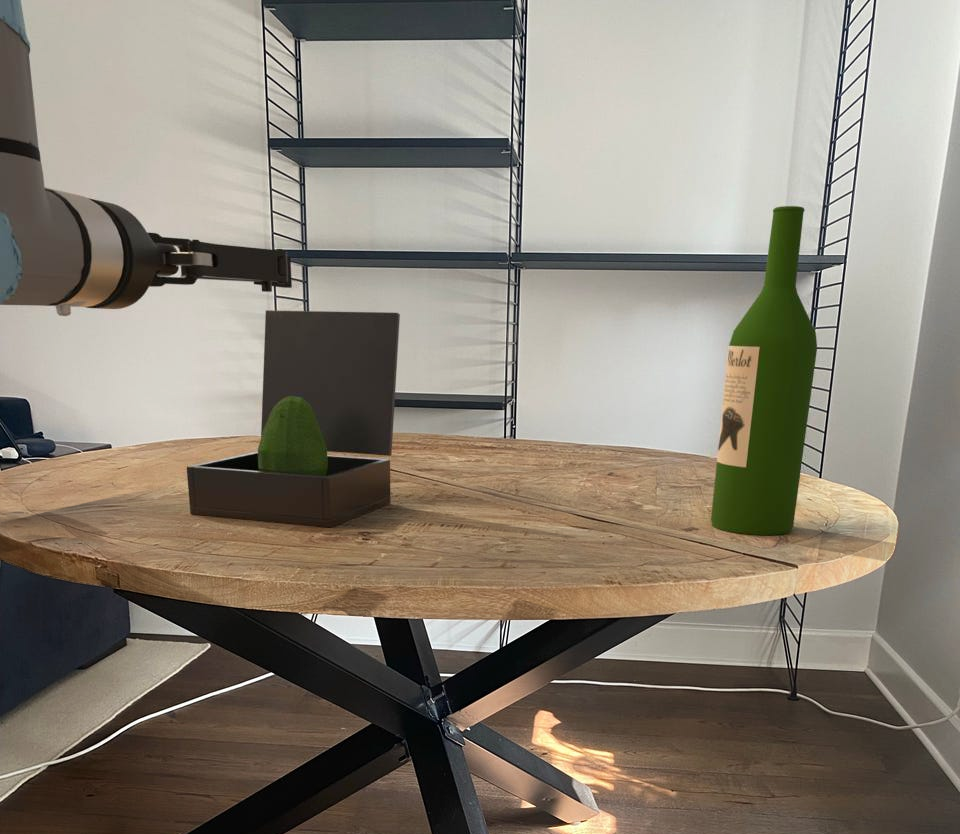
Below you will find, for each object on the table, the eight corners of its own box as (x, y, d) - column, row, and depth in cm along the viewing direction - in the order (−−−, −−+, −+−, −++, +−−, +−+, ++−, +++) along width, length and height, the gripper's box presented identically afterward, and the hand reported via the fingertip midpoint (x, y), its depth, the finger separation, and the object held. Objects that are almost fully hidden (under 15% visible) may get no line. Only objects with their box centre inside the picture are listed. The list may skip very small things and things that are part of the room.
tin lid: (397, 312, 106) (400, 313, 107) (265, 310, 111) (268, 311, 112) (388, 455, 109) (391, 455, 109) (260, 446, 114) (263, 447, 115)
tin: (330, 527, 97) (328, 477, 95) (190, 514, 102) (186, 466, 100) (390, 503, 111) (390, 459, 109) (264, 492, 116) (262, 450, 114)
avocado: (334, 496, 110) (331, 394, 106) (322, 508, 102) (319, 399, 99) (268, 495, 110) (262, 392, 106) (252, 507, 102) (245, 397, 99)
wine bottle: (693, 522, 104) (724, 208, 93) (752, 516, 108) (788, 215, 97) (748, 538, 96) (789, 199, 86) (810, 531, 100) (856, 206, 90)
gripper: (-59, 305, 70) (105, 311, 89) (244, 311, 65) (346, 316, 84) (-76, 197, 67) (96, 227, 87) (237, 195, 62) (344, 228, 82)
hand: (219, 271), depth 86 cm, fingers open, 13 cm apart
